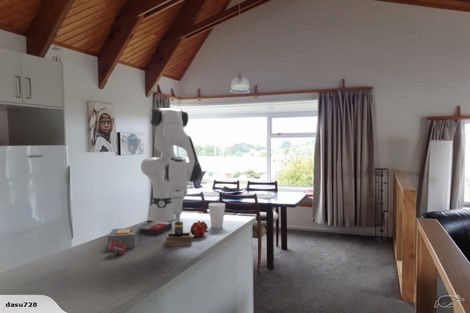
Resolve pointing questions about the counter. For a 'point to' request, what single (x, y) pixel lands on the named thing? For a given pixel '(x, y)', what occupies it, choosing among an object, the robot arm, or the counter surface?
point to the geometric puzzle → (117, 246)
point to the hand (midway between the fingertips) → (177, 219)
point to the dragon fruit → (199, 229)
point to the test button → (123, 231)
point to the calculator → (156, 228)
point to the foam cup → (216, 214)
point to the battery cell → (178, 229)
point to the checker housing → (124, 237)
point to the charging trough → (178, 239)
